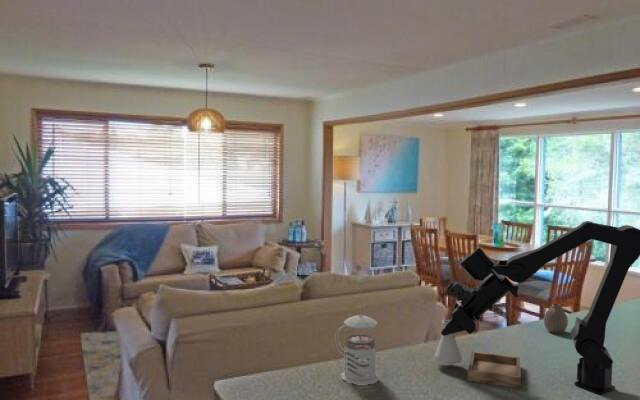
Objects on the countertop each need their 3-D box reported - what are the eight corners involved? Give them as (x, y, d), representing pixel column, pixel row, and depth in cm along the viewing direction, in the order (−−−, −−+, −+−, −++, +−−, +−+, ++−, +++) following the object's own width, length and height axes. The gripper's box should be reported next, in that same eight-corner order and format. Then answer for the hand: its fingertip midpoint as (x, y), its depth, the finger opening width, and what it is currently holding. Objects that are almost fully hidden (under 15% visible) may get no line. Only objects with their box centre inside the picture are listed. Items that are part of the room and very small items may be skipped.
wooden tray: (519, 366, 133) (519, 357, 133) (520, 388, 120) (520, 377, 120) (471, 360, 137) (471, 351, 137) (467, 380, 124) (467, 370, 124)
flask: (459, 354, 136) (460, 317, 135) (464, 365, 129) (465, 326, 128) (431, 353, 137) (432, 316, 136) (435, 363, 130) (436, 325, 129)
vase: (545, 333, 160) (546, 306, 159) (542, 327, 167) (543, 300, 166) (569, 336, 158) (570, 308, 157) (565, 329, 164) (566, 302, 164)
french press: (369, 389, 119) (370, 283, 117) (326, 378, 125) (327, 277, 123) (386, 374, 127) (387, 275, 126) (345, 364, 133) (346, 270, 132)
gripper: (467, 263, 139) (426, 300, 143) (461, 277, 121) (414, 318, 126) (497, 294, 136) (454, 330, 141) (496, 313, 119) (447, 353, 123)
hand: (442, 332), depth 133 cm, fingers closed on flask, 3 cm apart
